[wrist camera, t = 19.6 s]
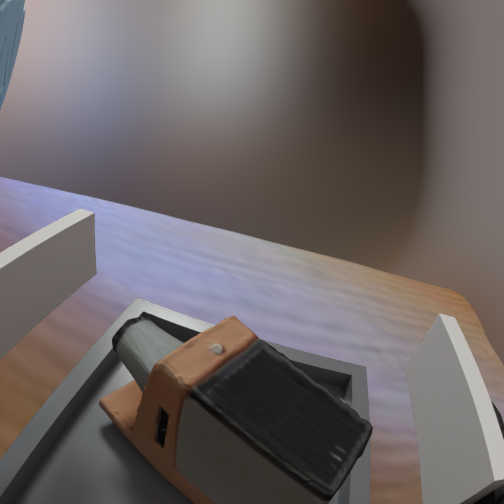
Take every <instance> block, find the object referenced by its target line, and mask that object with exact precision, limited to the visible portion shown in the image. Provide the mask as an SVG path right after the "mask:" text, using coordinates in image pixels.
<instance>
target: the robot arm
mask: <svg viewBox="0 0 504 504" xmlns="http://www.w3.org/2000/svg"><path fill="white" fill-rule="evenodd" d="M24 3H25V0H0V109H1V106H2V104H3V101H4V98H5V95H6V92H7V88H8V85H9V82H10V78H11V75H12V71H13V68H14V64H15V60H16V56H17V52H18V47H19V44H20V39H21V34H22V29H23V22H24V16H25V7H24ZM96 274H97V273H96V256H95V213H93V212H90V211H87V210H83V209H79V210H77V211H75V212H73V213H71V214H69V215H67V216H65V217H63V218H61V219H59V220H57V221H55V222H53V223H51V224H50V225H48V226H46V227H44V228H42V229H40V230H39V231H37V232H35V233H33V234H31V235H30V236H28V237H26V238H24V239H23V240H21V241H19V242H17V243H16V244H14V245H12V246H11V247H9V248H7V249H6V250H4V251H2V252H1V253H0V359H1V358H2V357H3V356H4V355H5V354H6V353H7V352H8V351H9V350H10V349H12V348H13V347H14V346H15V345H16V344H17V343H18V342H19V341H20V340H21V339H22V338H23V337H24V336H25V335H26V334H27V333H29V332H30V331H31V330H32V329H33V328H34V327H35V326H36V325H37V324H38V323H39V322H41V321H42V320H43V319H44V318H45V317H46V316H47V315H48V314H50V313H51V312H52V311H53V310H54V309H55V308H56V307H58V306H59V305H60V304H61V303H62V302H63V301H64V300H66V299H67V298H68V297H69V296H70V295H72V294H73V293H74V292H75V291H76V290H77V289H79V288H80V287H81V286H82V285H83V284H85V283H86V282H87V281H88V280H89V279H91V278H92V277H93V276H94V275H96ZM405 372H406V377H407V382H408V387H409V392H410V398H411V404H412V409H413V416H414V422H415V429H416V436H417V444H418V452H419V461H420V471H421V483H422V498H423V504H504V423H503V420H502V417H501V414H500V413H499V411H498V410H497V408H496V407H495V405H494V404H493V402H491V400H490V397H489V394H488V392H487V389H486V387H485V384H484V381H483V379H482V376H481V374H480V372H479V369H478V367H477V364H476V362H475V360H474V357H473V355H472V353H471V351H470V348H469V346H468V344H467V342H466V340H465V338H464V336H463V333H462V331H461V329H460V327H459V325H458V323H457V321H456V319H455V318H454V317H451V316H447V315H444V314H440V313H439V314H438V316H437V318H436V319H435V321H434V323H433V324H432V326H431V328H430V329H429V331H428V333H427V334H426V336H425V337H424V339H423V341H422V342H421V344H420V345H419V347H418V348H417V350H416V351H415V353H414V354H413V356H412V357H411V359H410V360H409V362H408V363H407V365H406V366H405Z"/></svg>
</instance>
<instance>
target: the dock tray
mask: <svg viewBox="0 0 504 504" xmlns="http://www.w3.org/2000/svg"><path fill="white" fill-rule="evenodd" d="M139 316H145V317H150V319H151V320H152V322H153V323H154V324H156V325H157V326H158V327H159V328H161V329H162V330H164V331H165V332H167V333H168V334H170V335H171V336H173V337H174V338H176V339H178V340H179V341H181V342H183V343H185V342H187V341H188V340H190V339H191V338H193V337H195V336H197V335H198V334H199V333H200V332H203V331H205V330H207V329H209V328H211V327H214V326H216V325H213V324H210V323H207V322H204V321H201V320H198V319H195V318H192V317H189V316H187V315H184V314H181V313H178V312H175V311H172V310H170V309H167V308H164V307H161V306H159V305H156V304H153V303H151V302H148V301H145V300H143V299H140V298H138V297H137V298H136V299H135V300H134V301H133V303H132V304H131V305H130V306H129V307H128V308H127V309H126V310H125V311H124V312H123V313H122V314H121V316H120V317H119V318H118V319H117V320H116V321H115V322H114V323H113V324H112V325H111V327H110V328H109V329H108V330H107V331H106V332H105V333H104V334H103V335H102V337H101V338H100V339H99V340H98V341H97V342H96V343H95V344H94V345H93V347H92V348H91V349H90V350H89V351H88V352H87V353H86V355H85V356H84V357H83V358H82V359H81V360H80V361H79V363H78V364H77V365H76V366H75V367H74V368H73V370H72V371H71V372H70V373H69V374H68V375H67V377H66V378H65V379H64V380H63V381H62V383H61V384H60V385H59V386H58V387H57V388H56V390H55V391H54V392H53V393H52V395H51V396H50V397H49V398H48V399H47V401H46V402H45V403H44V404H43V405H42V407H41V408H40V409H39V410H38V412H37V413H36V414H35V415H34V417H33V418H32V419H31V420H30V422H29V423H28V424H27V425H26V427H25V428H24V429H23V431H22V432H21V433H20V434H19V436H18V437H17V438H16V440H15V441H14V442H13V444H12V445H11V446H10V447H9V449H8V450H7V451H6V453H5V454H4V455H3V457H2V458H1V460H0V504H194V503H193V502H192V501H191V500H190V499H189V498H188V497H187V496H185V495H184V494H183V493H182V492H181V491H180V490H178V489H177V488H176V487H175V486H174V485H173V484H172V483H170V482H169V481H167V480H166V479H165V478H164V476H163V475H162V474H161V473H160V472H159V471H158V470H157V469H155V468H154V467H153V466H152V464H151V463H150V462H149V461H148V460H147V459H146V458H145V457H144V456H143V455H142V454H141V453H140V452H139V451H138V449H137V448H136V447H135V446H134V445H133V444H132V443H131V442H130V441H129V440H128V439H127V437H126V436H125V435H124V434H123V433H122V432H121V430H120V429H119V428H118V427H117V425H116V424H115V423H114V422H113V421H112V420H111V419H110V418H109V417H108V415H107V414H106V413H105V412H104V411H103V410H102V409H101V407H100V406H99V400H100V399H101V398H103V397H105V396H107V395H109V394H110V393H112V392H114V391H116V390H118V389H119V388H121V387H123V386H125V385H127V384H128V383H130V382H131V381H133V380H134V378H133V377H132V375H131V374H130V372H129V371H128V370H127V368H126V367H125V365H124V364H123V363H122V361H121V360H120V358H119V357H118V355H117V354H116V352H115V351H114V349H113V345H112V338H113V336H114V335H115V333H116V332H117V331H118V330H119V329H120V328H121V327H122V326H123V324H124V323H125V322H126V321H127V320H129V319H132V318H137V317H139ZM265 342H267V343H268V344H269V345H271V346H272V347H274V348H275V349H276V350H277V351H278V352H280V353H283V354H284V355H285V356H286V357H287V358H289V359H290V360H291V361H292V362H293V363H295V364H296V365H297V366H298V367H300V368H302V369H303V370H304V371H305V372H306V373H307V374H308V375H310V376H311V377H312V378H313V379H314V380H315V381H317V382H319V383H321V384H323V385H324V386H325V387H326V388H327V389H328V390H329V391H330V392H331V393H332V394H333V395H335V396H336V397H338V398H339V399H340V400H341V401H342V402H343V403H347V404H348V405H349V406H350V407H351V408H352V409H354V410H355V411H356V412H357V413H358V415H359V416H360V417H361V418H363V419H365V420H368V421H369V403H368V387H367V374H366V367H365V366H361V365H356V364H352V363H348V362H343V361H339V360H335V359H331V358H327V357H323V356H319V355H315V354H311V353H307V352H304V351H300V350H296V349H293V348H289V347H285V346H282V345H278V344H275V343H271V342H268V341H265ZM369 498H370V439H369V441H368V443H367V445H366V448H365V450H364V452H363V455H362V456H361V457H360V458H358V459H357V461H356V463H355V465H354V467H353V468H352V470H351V472H350V473H349V475H348V476H347V478H346V480H345V481H344V483H343V485H342V486H341V488H340V489H339V490H338V491H337V492H336V494H335V495H334V496H333V498H332V500H331V501H330V502H329V504H369Z"/></svg>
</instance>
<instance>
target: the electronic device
mask: <svg viewBox="0 0 504 504" xmlns="http://www.w3.org/2000/svg"><path fill="white" fill-rule="evenodd" d="M112 345H113V349H114V351H115V352H116V354H117V355H118V357H119V358H120V360H121V361H122V363H123V364H124V365H125V367H126V368H127V370H128V371H129V372H130V374H131V375H132V377H133V378H134V380H133V381H131V382H130V383H128V384H127V385H125V386H123V387H121V388H119V389H118V390H116V391H114V392H112V393H110V394H109V395H107V396H105V397H103V398H101V399H100V400H99V406H100V407H101V409H102V410H103V411H104V412H105V413H106V414H107V415H108V417H109V418H110V419H111V420H112V421H113V422H114V423H115V424H116V425H117V427H118V428H119V429H120V430H121V432H122V433H123V434H124V435H125V436H126V437H127V439H128V440H129V441H130V442H131V443H132V444H133V445H134V446H135V447H136V448H137V449H138V451H139V452H140V453H141V454H142V455H143V456H144V457H145V458H146V459H147V460H148V461H149V462H150V463H151V464H152V466H153V467H154V468H155V469H157V470H158V471H159V472H160V473H161V474H162V475H163V476H164V478H165V479H166V480H167V481H169V482H170V483H172V484H173V485H174V486H175V487H176V488H177V489H178V490H180V491H181V492H182V493H183V494H184V495H185V496H187V497H188V498H189V499H190V500H191V501H192V502H193V503H194V504H329V502H330V501H331V500H332V498H333V496H334V495H335V494H336V492H337V491H338V490H339V489H340V488H341V486H342V485H343V483H344V481H345V480H346V478H347V476H348V475H349V473H350V472H351V470H352V468H353V467H354V465H355V463H356V461H357V459H358V458H360V457H361V456H362V455H363V452H364V450H365V448H366V445H367V443H368V441H369V439H370V436H371V435H372V429H373V427H372V425H371V424H370V422H369V421H368V420H365V419H363V418H361V417H360V416H359V415H358V413H357V412H356V411H355V410H354V409H352V408H351V407H350V406H349V405H348V404H347V403H343V402H342V401H341V400H340V399H339V398H338V397H336V396H335V395H333V394H332V393H331V392H330V391H329V390H328V389H327V388H326V387H325V386H324V385H323V384H321V383H319V382H317V381H315V380H314V379H313V378H312V377H311V376H310V375H308V374H307V373H306V372H305V371H304V370H303V369H302V368H300V367H298V366H297V365H296V364H295V363H293V362H292V361H291V360H290V359H289V358H287V357H286V356H285V355H284V354H283V353H280V352H278V351H277V350H276V349H275V348H274V347H272V346H271V345H269V344H268V343H267V342H265V341H264V340H261V339H259V338H258V337H257V336H256V335H255V334H254V332H253V331H251V330H250V329H249V328H247V327H246V326H245V325H244V324H242V323H241V322H240V321H239V320H238V319H237V318H236V317H235V316H231V317H228V318H225V319H224V320H222V321H221V322H220V323H219V324H217V325H216V326H214V327H211V328H209V329H207V330H205V331H203V332H200V333H199V334H198V335H197V336H195V337H193V338H191V339H190V340H188V341H187V342H185V343H183V342H181V341H179V340H178V339H176V338H174V337H173V336H171V335H170V334H168V333H167V332H165V331H164V330H162V329H161V328H159V327H158V326H157V325H156V324H154V323H153V322H152V320H151V319H150V317H145V316H139V317H137V318H132V319H129V320H127V321H126V322H125V323H124V324H123V326H122V327H121V328H120V329H119V330H118V331H117V332H116V333H115V335H114V336H113V338H112Z"/></svg>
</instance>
